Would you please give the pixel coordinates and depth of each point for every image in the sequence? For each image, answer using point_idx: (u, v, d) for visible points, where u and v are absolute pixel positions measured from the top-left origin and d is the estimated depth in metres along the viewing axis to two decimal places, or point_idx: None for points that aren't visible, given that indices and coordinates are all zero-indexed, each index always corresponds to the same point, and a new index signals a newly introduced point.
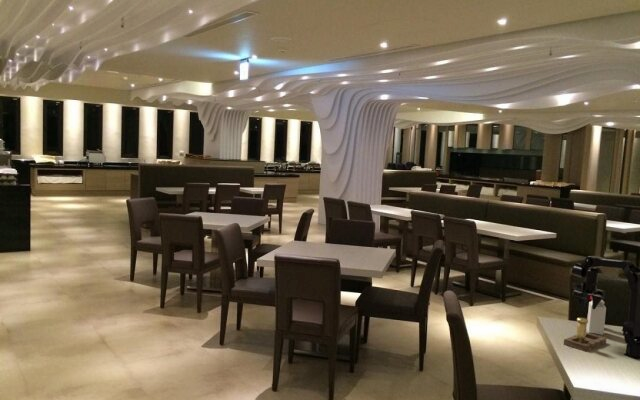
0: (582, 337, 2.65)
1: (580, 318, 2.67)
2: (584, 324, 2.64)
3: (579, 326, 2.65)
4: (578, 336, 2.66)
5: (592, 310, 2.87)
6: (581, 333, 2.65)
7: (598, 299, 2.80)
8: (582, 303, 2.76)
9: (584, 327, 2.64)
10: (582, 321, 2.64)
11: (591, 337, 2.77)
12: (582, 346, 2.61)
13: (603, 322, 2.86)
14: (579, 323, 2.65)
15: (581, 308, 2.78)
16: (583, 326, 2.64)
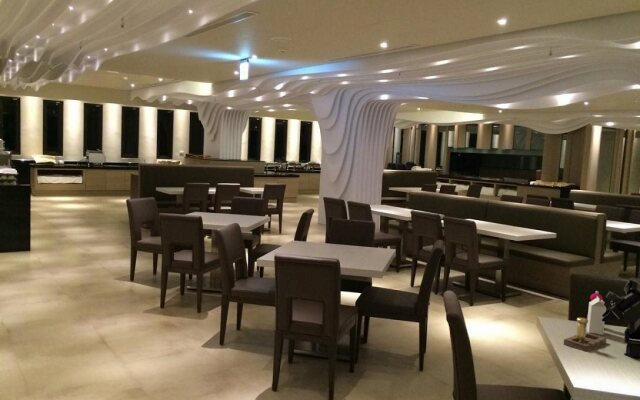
0: (582, 337, 2.65)
1: (580, 318, 2.67)
2: (584, 324, 2.64)
3: (579, 326, 2.65)
4: (578, 336, 2.66)
5: (592, 310, 2.87)
6: (581, 333, 2.65)
7: None
8: (610, 318, 2.62)
9: (584, 327, 2.64)
10: (582, 321, 2.64)
11: (591, 337, 2.77)
12: (582, 346, 2.61)
13: (603, 322, 2.86)
14: (579, 323, 2.65)
15: (604, 320, 2.64)
16: (583, 326, 2.64)
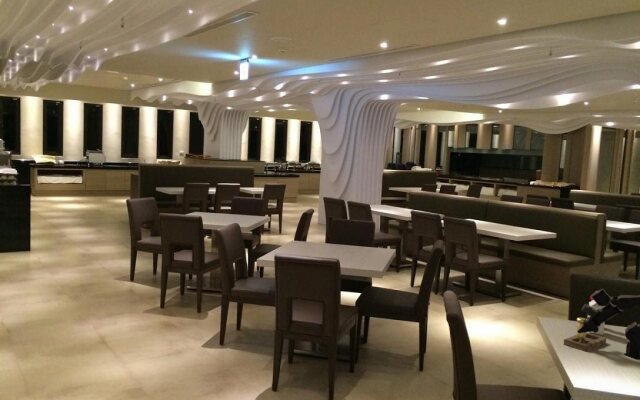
0: (582, 337, 2.65)
1: (580, 318, 2.67)
2: (584, 324, 2.64)
3: (579, 326, 2.65)
4: (578, 336, 2.66)
5: None
6: (581, 333, 2.65)
7: None
8: (585, 330, 2.62)
9: None
10: (582, 321, 2.64)
11: (591, 337, 2.77)
12: (582, 346, 2.61)
13: None
14: (579, 323, 2.65)
15: (579, 331, 2.64)
16: None
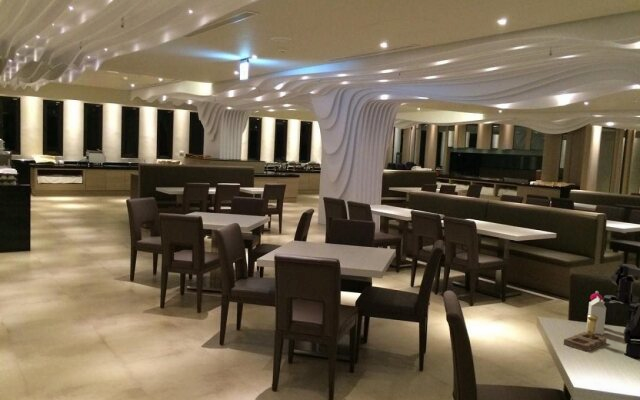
0: (590, 333, 2.72)
1: (591, 315, 2.74)
2: (592, 320, 2.71)
3: (588, 322, 2.73)
4: (587, 332, 2.73)
5: (592, 310, 2.87)
6: (590, 329, 2.72)
7: None
8: None
9: (593, 323, 2.71)
10: (590, 317, 2.71)
11: None
12: (582, 346, 2.61)
13: (603, 322, 2.86)
14: (588, 319, 2.73)
15: None
16: (591, 322, 2.71)
